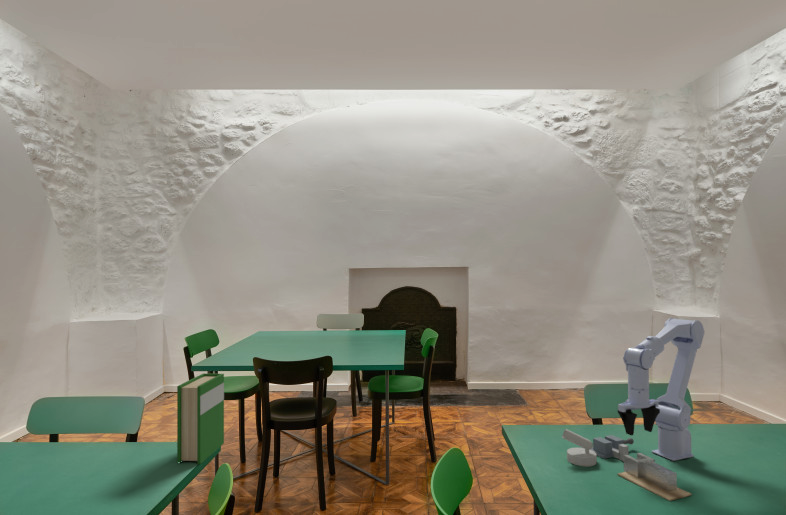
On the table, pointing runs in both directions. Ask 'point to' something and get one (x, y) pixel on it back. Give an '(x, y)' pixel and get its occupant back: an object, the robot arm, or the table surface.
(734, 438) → the table surface
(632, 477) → the cork mat
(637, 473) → the steel fork
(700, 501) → the table surface
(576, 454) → the wall hook
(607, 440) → the vise
